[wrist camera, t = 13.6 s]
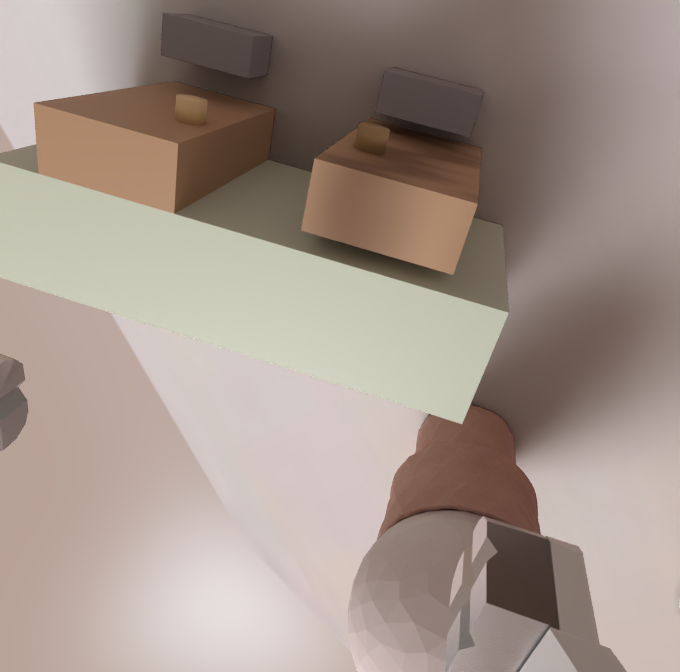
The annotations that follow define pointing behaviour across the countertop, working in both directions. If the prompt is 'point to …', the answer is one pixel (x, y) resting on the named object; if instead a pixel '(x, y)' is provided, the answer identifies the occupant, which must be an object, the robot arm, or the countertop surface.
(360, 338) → the cabinet
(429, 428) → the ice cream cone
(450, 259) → the wooden block with peg
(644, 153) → the countertop surface
